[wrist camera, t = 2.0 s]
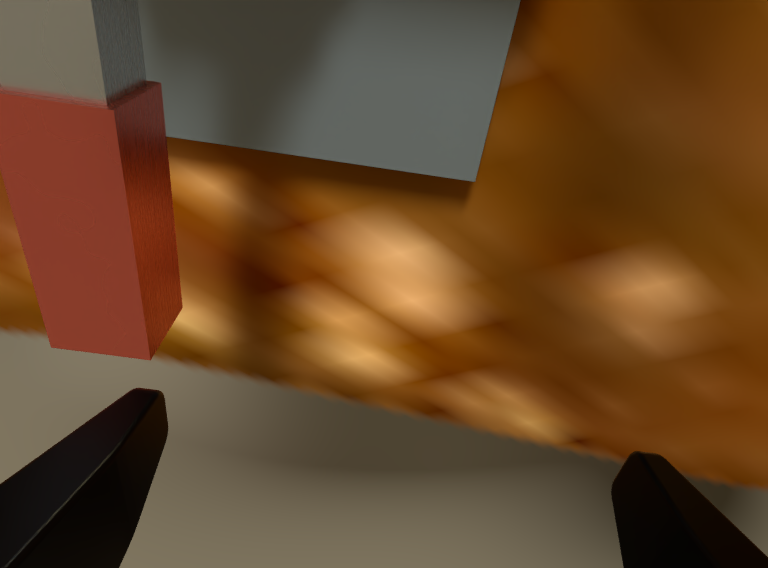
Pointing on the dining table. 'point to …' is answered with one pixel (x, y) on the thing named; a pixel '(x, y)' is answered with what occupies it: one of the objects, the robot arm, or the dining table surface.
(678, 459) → the dining table surface
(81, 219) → the valve lever
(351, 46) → the valve board
